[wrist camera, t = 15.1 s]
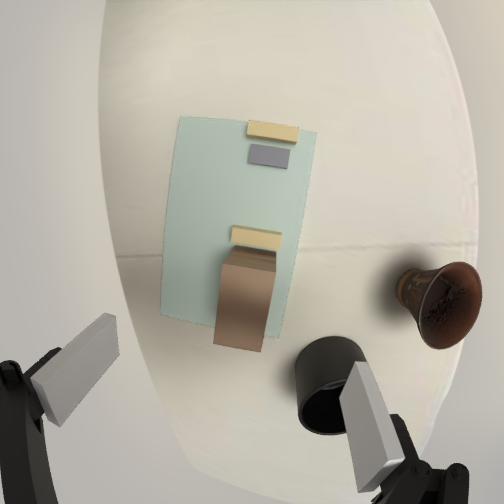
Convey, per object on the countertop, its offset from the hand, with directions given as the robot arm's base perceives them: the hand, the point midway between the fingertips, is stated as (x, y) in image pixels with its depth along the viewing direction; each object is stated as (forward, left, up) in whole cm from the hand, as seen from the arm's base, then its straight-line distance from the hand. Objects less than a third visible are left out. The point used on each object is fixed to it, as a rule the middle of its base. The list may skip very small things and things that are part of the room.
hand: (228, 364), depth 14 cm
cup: (-2, +20, -19) cm, 28 cm away
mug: (+13, +12, -19) cm, 26 cm away
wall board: (-4, -3, -19) cm, 20 cm away
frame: (+2, 0, -18) cm, 18 cm away
